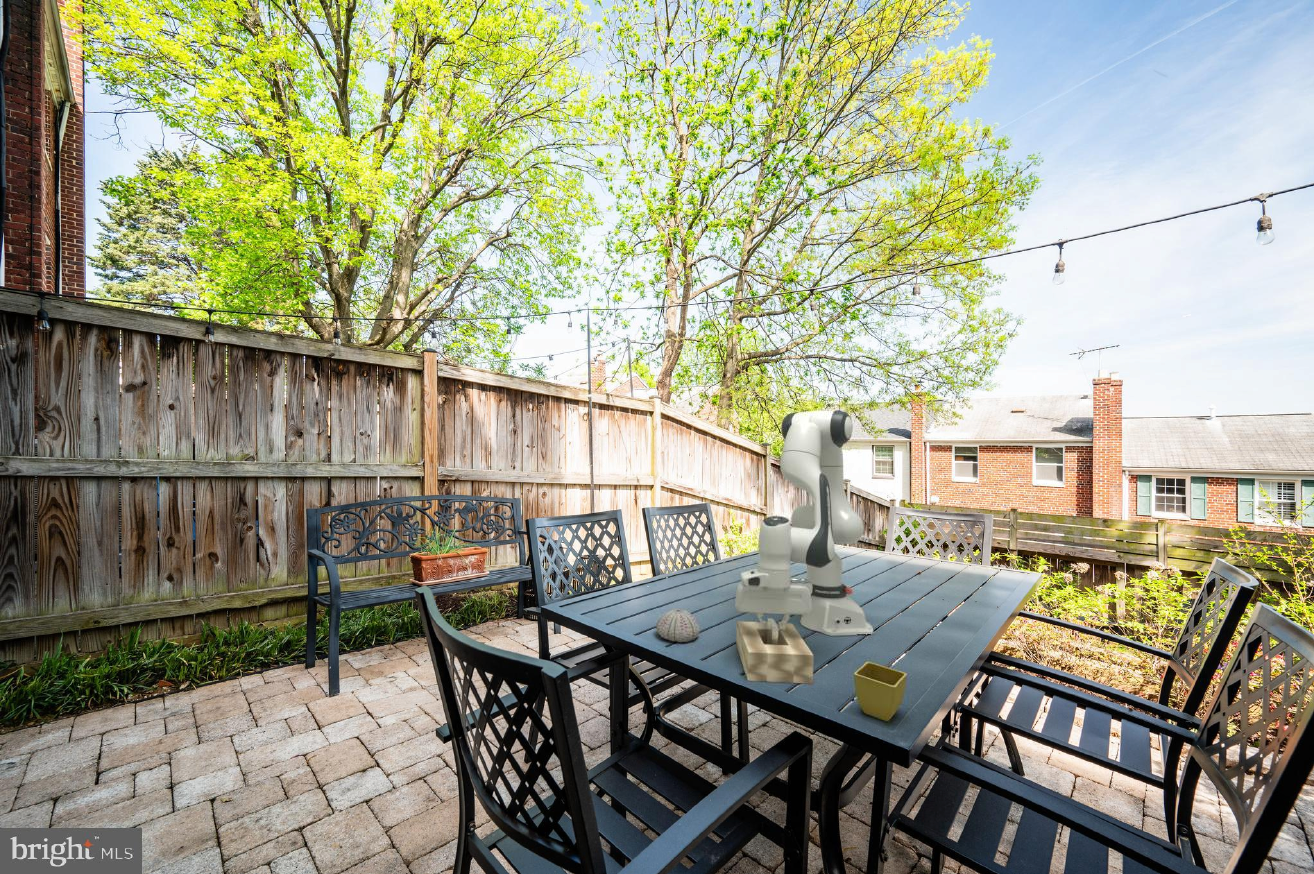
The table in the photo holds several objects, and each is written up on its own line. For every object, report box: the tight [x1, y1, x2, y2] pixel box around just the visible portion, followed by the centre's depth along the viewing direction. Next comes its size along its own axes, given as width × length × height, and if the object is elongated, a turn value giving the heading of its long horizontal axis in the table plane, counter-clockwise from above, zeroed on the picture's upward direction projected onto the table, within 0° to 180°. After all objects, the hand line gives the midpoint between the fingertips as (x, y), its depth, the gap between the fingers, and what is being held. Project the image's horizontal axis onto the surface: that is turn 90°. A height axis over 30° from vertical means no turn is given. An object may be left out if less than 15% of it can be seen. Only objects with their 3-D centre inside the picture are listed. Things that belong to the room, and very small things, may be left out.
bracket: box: [766, 617, 778, 645], centre depth 136 cm, size 4×7×10 cm, turn 178°
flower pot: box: [853, 661, 908, 722], centre depth 111 cm, size 9×9×9 cm
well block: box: [735, 620, 814, 685], centre depth 136 cm, size 16×22×7 cm
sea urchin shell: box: [655, 608, 701, 643], centre depth 153 cm, size 13×14×8 cm
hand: (772, 629), depth 136 cm, fingers open, 3 cm apart
